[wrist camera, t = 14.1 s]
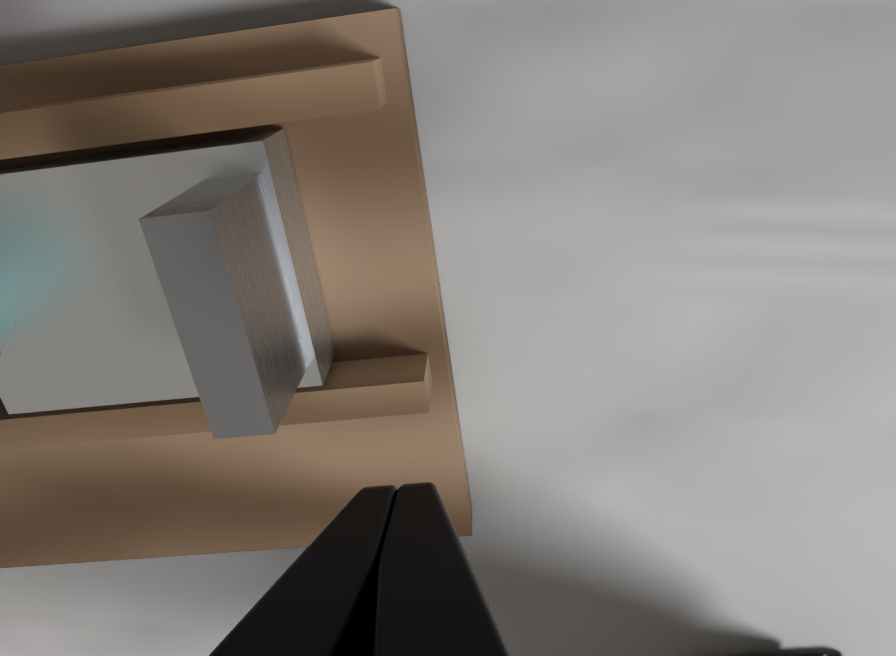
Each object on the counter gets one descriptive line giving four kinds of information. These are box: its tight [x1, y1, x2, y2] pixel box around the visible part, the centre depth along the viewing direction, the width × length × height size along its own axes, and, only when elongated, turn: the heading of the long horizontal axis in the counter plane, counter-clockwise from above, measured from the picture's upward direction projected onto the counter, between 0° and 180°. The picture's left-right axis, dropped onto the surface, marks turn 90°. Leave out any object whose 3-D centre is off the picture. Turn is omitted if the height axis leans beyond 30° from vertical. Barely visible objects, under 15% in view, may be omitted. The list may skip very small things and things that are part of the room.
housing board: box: [0, 8, 472, 568], centre depth 19 cm, size 16×18×3 cm
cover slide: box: [0, 128, 336, 439], centre depth 16 cm, size 6×9×5 cm
